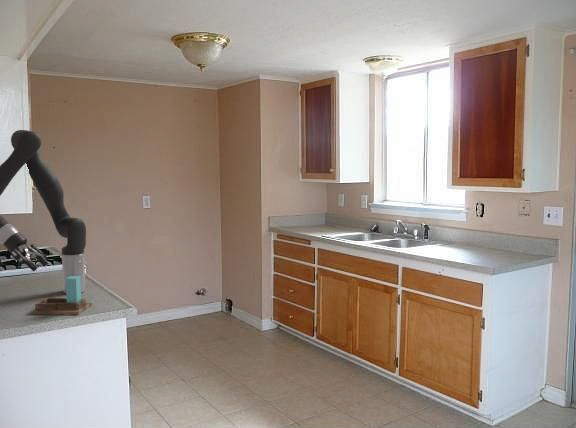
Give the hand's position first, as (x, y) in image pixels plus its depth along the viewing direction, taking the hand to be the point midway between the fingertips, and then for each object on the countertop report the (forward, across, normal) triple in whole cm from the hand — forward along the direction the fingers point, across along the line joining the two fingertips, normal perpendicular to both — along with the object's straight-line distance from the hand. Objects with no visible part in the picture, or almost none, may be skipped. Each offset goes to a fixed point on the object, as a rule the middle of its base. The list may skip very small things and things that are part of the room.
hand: (41, 267), depth 203 cm
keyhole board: (+17, -1, +6) cm, 19 cm away
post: (+20, -1, +2) cm, 20 cm away
